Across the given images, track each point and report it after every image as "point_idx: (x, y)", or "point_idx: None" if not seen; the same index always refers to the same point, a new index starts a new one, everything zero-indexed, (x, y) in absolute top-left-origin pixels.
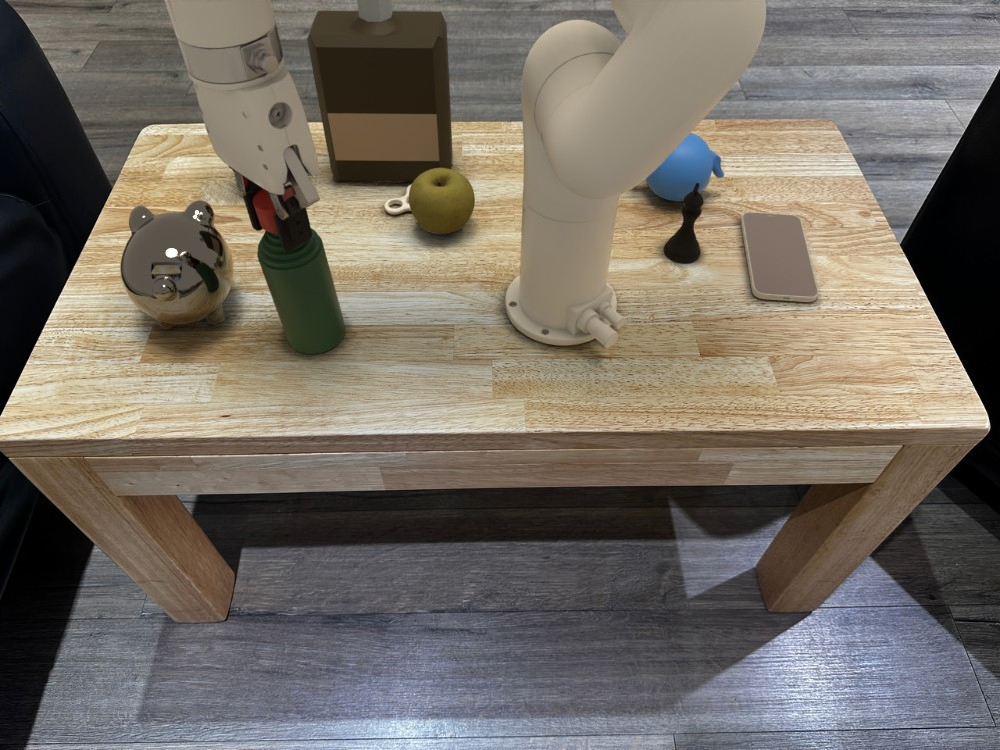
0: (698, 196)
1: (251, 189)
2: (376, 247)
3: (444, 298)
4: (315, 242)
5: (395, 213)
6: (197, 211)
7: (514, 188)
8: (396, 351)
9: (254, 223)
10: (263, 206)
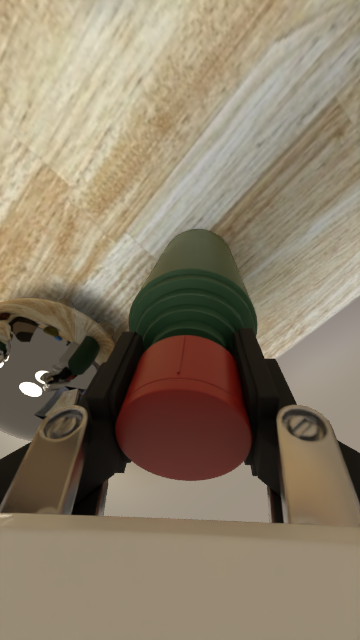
0: None
1: (112, 472)
2: (101, 68)
3: (282, 60)
4: (233, 302)
5: None
6: None
7: None
8: (295, 209)
9: None
10: (195, 471)
